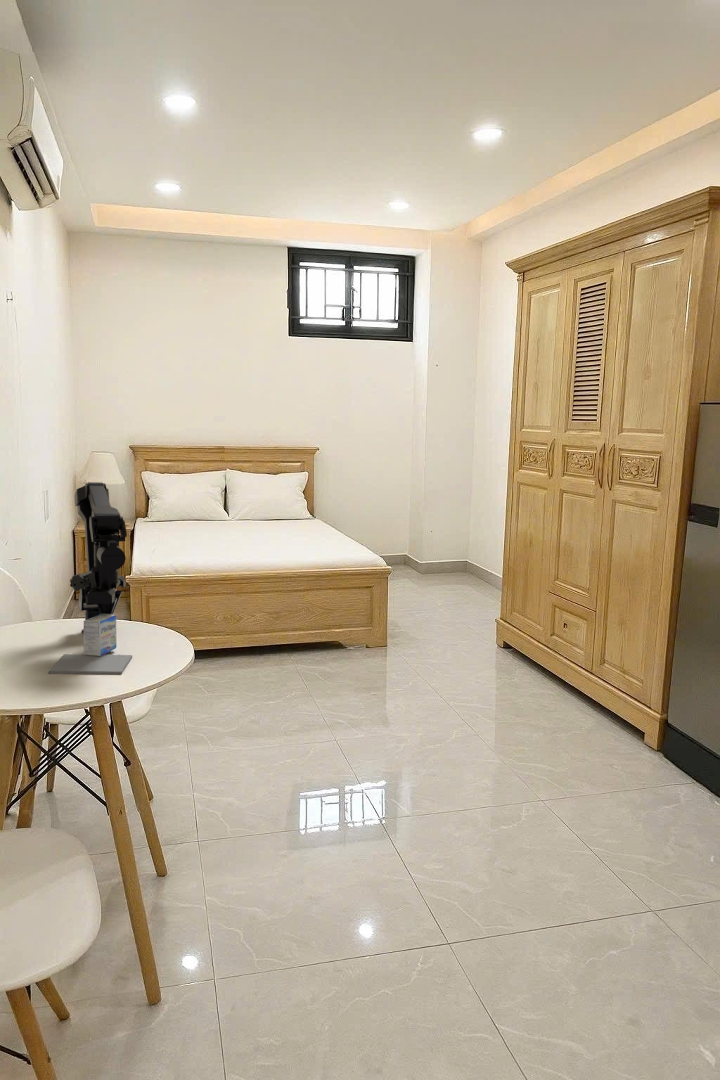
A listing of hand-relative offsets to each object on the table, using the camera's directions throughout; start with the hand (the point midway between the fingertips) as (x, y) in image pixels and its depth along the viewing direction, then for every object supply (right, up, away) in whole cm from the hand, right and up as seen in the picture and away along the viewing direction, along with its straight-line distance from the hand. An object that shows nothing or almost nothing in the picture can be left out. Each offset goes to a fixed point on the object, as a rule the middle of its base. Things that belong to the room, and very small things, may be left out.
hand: (107, 622), depth 198 cm
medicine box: (0, -7, -7) cm, 10 cm away
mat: (+1, -8, -15) cm, 18 cm away
